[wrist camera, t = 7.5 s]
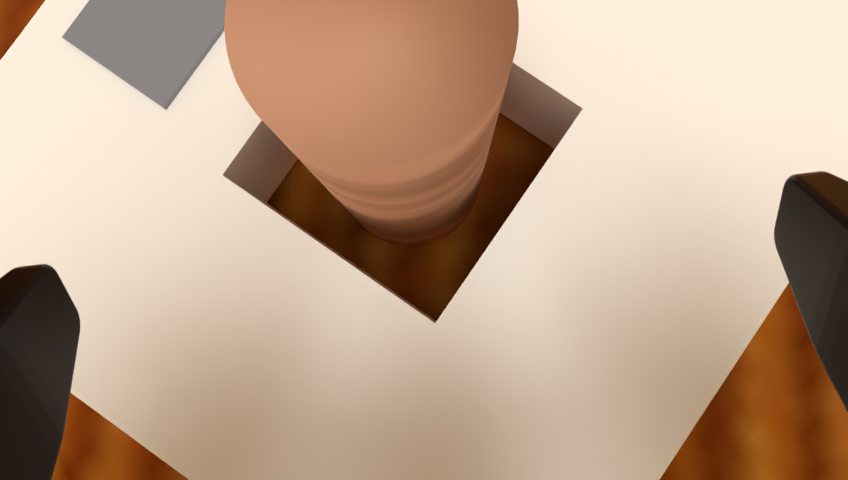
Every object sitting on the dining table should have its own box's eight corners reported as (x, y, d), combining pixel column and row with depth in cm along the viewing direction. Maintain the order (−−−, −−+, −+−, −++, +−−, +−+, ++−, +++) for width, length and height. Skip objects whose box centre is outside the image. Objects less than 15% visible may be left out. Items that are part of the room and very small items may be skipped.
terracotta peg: (427, 272, 22) (408, 224, 10) (314, 194, 22) (166, 58, 11) (506, 159, 22) (577, -19, 10) (392, 82, 23) (335, -173, 11)
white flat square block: (492, 629, 21) (506, 718, 16) (-20, 255, 23) (-142, 240, 18) (846, 96, 22) (952, 37, 18) (337, -228, 24) (311, -362, 19)
